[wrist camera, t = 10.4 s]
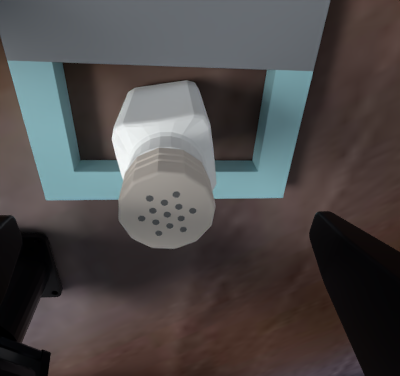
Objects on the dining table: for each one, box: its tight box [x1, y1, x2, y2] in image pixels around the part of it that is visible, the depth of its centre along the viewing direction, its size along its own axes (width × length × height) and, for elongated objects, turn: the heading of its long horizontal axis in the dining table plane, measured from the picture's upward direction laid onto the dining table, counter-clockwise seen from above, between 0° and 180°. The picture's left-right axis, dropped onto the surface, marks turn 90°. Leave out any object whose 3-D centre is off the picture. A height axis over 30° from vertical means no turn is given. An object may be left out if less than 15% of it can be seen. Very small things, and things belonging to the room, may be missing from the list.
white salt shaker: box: [112, 80, 216, 249], centre depth 14 cm, size 4×4×10 cm
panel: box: [0, 0, 330, 200], centre depth 14 cm, size 20×15×2 cm
